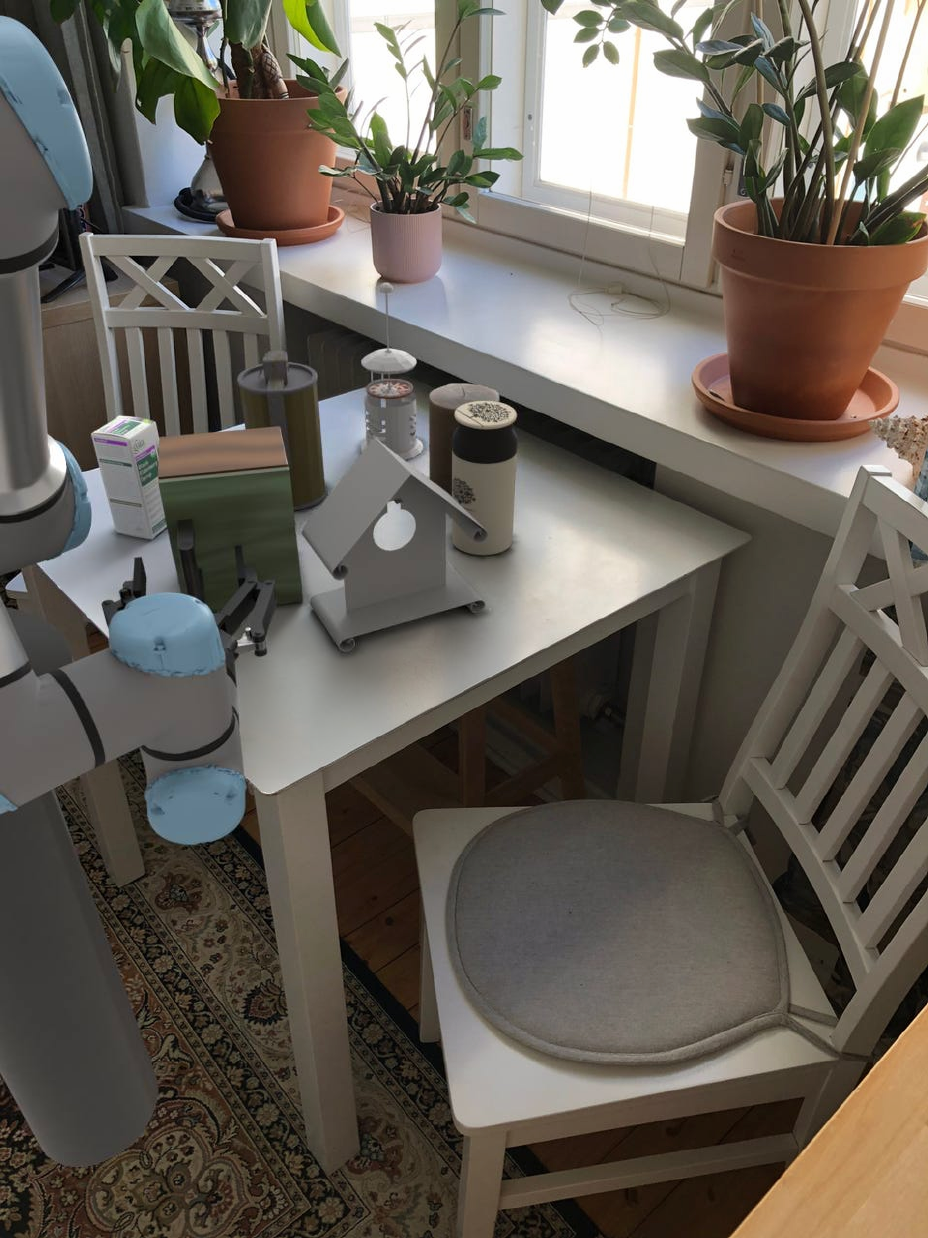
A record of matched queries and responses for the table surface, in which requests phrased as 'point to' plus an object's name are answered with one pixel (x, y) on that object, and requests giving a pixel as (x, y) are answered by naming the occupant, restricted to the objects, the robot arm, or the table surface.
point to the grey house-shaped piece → (386, 578)
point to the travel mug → (485, 473)
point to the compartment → (221, 452)
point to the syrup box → (131, 475)
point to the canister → (288, 419)
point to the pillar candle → (449, 426)
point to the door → (232, 532)
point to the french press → (391, 399)
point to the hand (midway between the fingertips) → (190, 561)
